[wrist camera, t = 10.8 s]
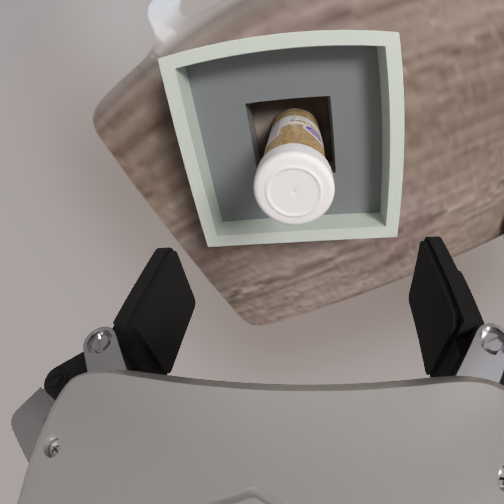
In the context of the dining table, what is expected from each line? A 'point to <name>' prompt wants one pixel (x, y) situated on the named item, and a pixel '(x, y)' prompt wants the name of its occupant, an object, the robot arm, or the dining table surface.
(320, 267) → the dining table surface
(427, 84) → the dining table surface
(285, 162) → the sprinkles bottle
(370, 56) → the open box
